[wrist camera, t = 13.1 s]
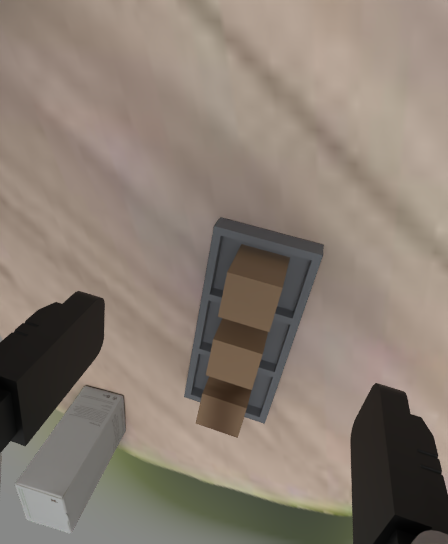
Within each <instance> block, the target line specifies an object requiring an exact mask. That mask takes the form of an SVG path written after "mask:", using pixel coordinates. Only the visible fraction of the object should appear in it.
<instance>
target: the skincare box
mask: <svg viewBox="0 0 448 544" xmlns="http://www.w3.org/2000/svg"><path fill="white" fill-rule="evenodd" d="M125 431H126V428H125V412H124V399H123V396H122V395H119V394H115V393H112V392H108V391H105V390H101V389H97V388H93V387H89V386H84V388H83V389H82V390H81V392H80V393H79V395H78V396H77V397H76V399H75V400H74V402H73V403H72V404H71V406H70V407H69V409H68V410H67V411H66V413H65V414H64V416H63V417H62V418H61V420H60V421H59V423H58V424H57V425H56V427H55V428H54V430H53V431H52V432H51V434H50V435H49V437H48V438H47V439H46V441H45V442H44V444H43V445H42V446H41V448H40V449H39V451H38V452H37V453H36V455H35V456H34V458H33V459H32V460H31V462H30V463H29V464H28V466H27V467H26V469H25V470H24V471H23V473H22V474H21V476H20V477H19V479H18V480H17V481H16V482H15V487H16V489H17V492H18V495H19V498H20V501H21V504H22V507H23V510H24V514H25V517H26V519H27V520H29V521H31V522H34V523H38V524H41V525H45V526H48V527H52V528H55V529H58V530H60V531H63V532H67V533H70V534H71V533H72V532H73V530H74V528H75V526H76V524H77V522H78V520H79V518H80V516H81V514H82V512H83V511H84V508H85V507H86V505H87V503H88V501H89V499H90V497H91V495H92V493H93V491H94V489H95V488H96V486H97V484H98V482H99V480H100V478H101V476H102V474H103V473H104V471H105V469H106V467H107V465H108V463H109V461H110V459H111V457H112V455H113V453H114V451H115V449H116V448H117V446H118V444H119V442H120V440H121V438H122V437H123V435H124V433H125Z"/></svg>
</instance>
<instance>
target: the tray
mask: <svg viewBox="0 0 448 544" xmlns="http://www.w3.org/2000/svg"><path fill="white" fill-rule="evenodd" d="M323 247H324V245H323V244H319V243H315V242H311V241H308V240H304V239H300V238H296V237H293V236H289V235H285V234H281V233H278V232H274V231H270V230H266V229H263V228H259V227H255V226H251V225H248V224H244V223H240V222H236V221H233V220H229V219H225V218H221V217H220V219H219V220H218V221H217V223H216V224H215V226H214V230H213V236H212V241H211V247H210V253H209V258H208V264H207V270H206V275H205V281H204V287H203V292H202V298H201V304H200V309H199V315H198V321H197V326H196V332H195V338H194V344H193V349H192V355H191V361H190V366H189V372H188V378H187V383H186V389H185V395H184V397H186V398H189V399H192V400H195V401H198V402H201V397H202V393H203V391H204V388H205V386H206V383H207V381H208V378H209V376H210V377H213V378H216V379H219V380H222V381H225V382H228V383H231V384H235V385H238V386H241V387H244V388H247V389H250V390H251V394H250V398H249V402H248V406H247V409H246V412H245V416H244V417H246V418H249V419H252V420H255V421H258V422H261V423H264V424H265V421H266V418H267V415H268V412H269V409H270V406H271V403H272V401H273V398H274V395H275V392H276V389H277V386H278V383H279V380H280V378H281V375H282V372H283V369H284V366H285V363H286V360H287V357H288V354H289V352H290V349H291V346H292V343H293V340H294V337H295V334H296V331H297V328H298V326H299V323H300V320H301V317H302V314H303V311H304V308H305V305H306V303H307V300H308V297H309V294H310V291H311V288H312V285H313V282H314V279H315V277H316V274H317V271H318V268H319V265H320V262H321V259H322V256H323Z"/></svg>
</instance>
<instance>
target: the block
mask: <svg viewBox="0 0 448 544" xmlns="http://www.w3.org/2000/svg"><path fill="white" fill-rule="evenodd" d="M250 394H251V390H250V389H247V388H244V387H241V386H238V385H235V384H231V383H228V382H225V381H222V380H219V379H216V378H213V377H210V376H209V378H208V381H207V383H206V386H205V388H204V391H203V393H202V397H201V402H200V406H199V411H198V415H197V420H196V424H199V425H202V426H205V427H208V428H211V429H214V430H216V431H219V432H222V433H225V434H228V435H231V436H234V437H237V438H238V435H239V432H240V428H241V425H242V422H243V419H244V416H245V412H246V409H247V406H248V402H249V398H250Z"/></svg>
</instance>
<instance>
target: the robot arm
mask: <svg viewBox="0 0 448 544" xmlns="http://www.w3.org/2000/svg"><path fill="white" fill-rule="evenodd" d="M104 310H105V303H104V299H103V298H100V297H97V296H94V295H91V294H87V293H84V292H81V291H77V292H75V293H74V294H73V295H72V296H71V297H70V298H68V299H67V300H66V301H65V302H64V303H63V304H61V303H57V302H55V303H53V304H50V305H48V306H46V307H44V308H41V309H39V310H38V311H36V312H35V313H34V314H33V315H32V316H31V317H29V318H28V319H27V320H26V321H25V323H22V324H21V325H20V326H19V327H18V328H17V329H15V331H14V333H11V334H10V335H8V336H7V337H6V338H5V339H4V340H3V341H1V342H0V482H1V459H2V456H1V452H2V450H3V449H4V448H5V447H6V446H7V445H8V443H9V442H10V441H12V442H16V443H18V444H21V445H23V446H26V445H27V444H28V442H29V441H30V440H31V439H32V437H33V436H34V435H35V434H36V432H37V431H38V430H39V429H40V427H41V426H42V425H43V423H44V422H45V421H46V420H47V419H48V417H49V416H50V415H51V413H52V412H53V411H54V410H55V409H56V407H57V406H58V405H59V403H60V402H61V401H62V400H63V398H64V397H65V396H66V395H67V393H68V392H69V391H70V390H71V388H72V387H73V386H74V385H75V383H76V382H77V381H78V380H79V378H80V377H81V376H82V375H83V373H84V372H85V371H86V370H87V368H88V367H89V366H90V365H91V363H92V362H93V361H94V360H95V358H96V357H97V355H98V354H99V352H100V350H101V347H102V344H103V340H104ZM441 473H442V469H441V465H440V461H439V459H438V453H437V449H436V445H435V440H434V436H433V435H432V433H431V432H430V430H429V429H428V427H427V425H426V424H425V422H424V421H423V419H422V418H421V417H418V416H415V415H412V414H410V409H409V404H408V399H407V395H406V393H405V392H404V391H400V390H397V389H394V388H391V387H387V386H384V385H381V384H378V383H376V384H374V385H373V387H372V388H371V390H370V392H369V394H368V396H367V398H366V400H365V402H364V403H363V405H362V407H361V409H360V411H359V413H358V415H357V417H356V419H355V421H354V424H353V427H352V432H351V478H352V513H353V544H448V494H447V490H446V486H445V481H444V477H443V475H441Z"/></svg>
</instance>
